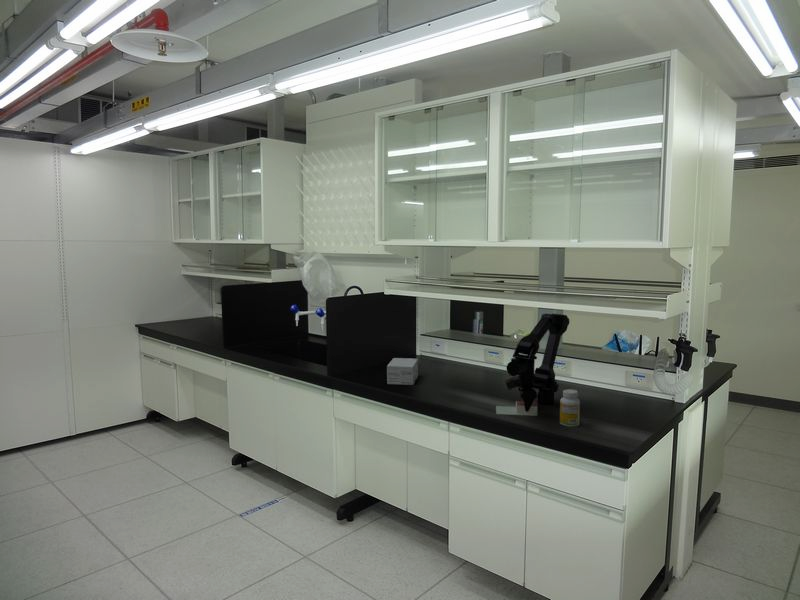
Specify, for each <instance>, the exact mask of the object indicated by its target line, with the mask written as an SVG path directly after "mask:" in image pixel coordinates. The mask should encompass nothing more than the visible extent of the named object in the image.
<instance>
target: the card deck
mask: <svg viewBox="0 0 800 600" xmlns="http://www.w3.org/2000/svg"><path fill="white" fill-rule="evenodd" d="M515 407H516V412H517V413H532V414H537V415H538V403H537V401H533V403H532V405H531V407H530V409H529V411H528V412H526V411H525V405H524V401H523V400H522V401H518V400H516V401H515Z"/></svg>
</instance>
